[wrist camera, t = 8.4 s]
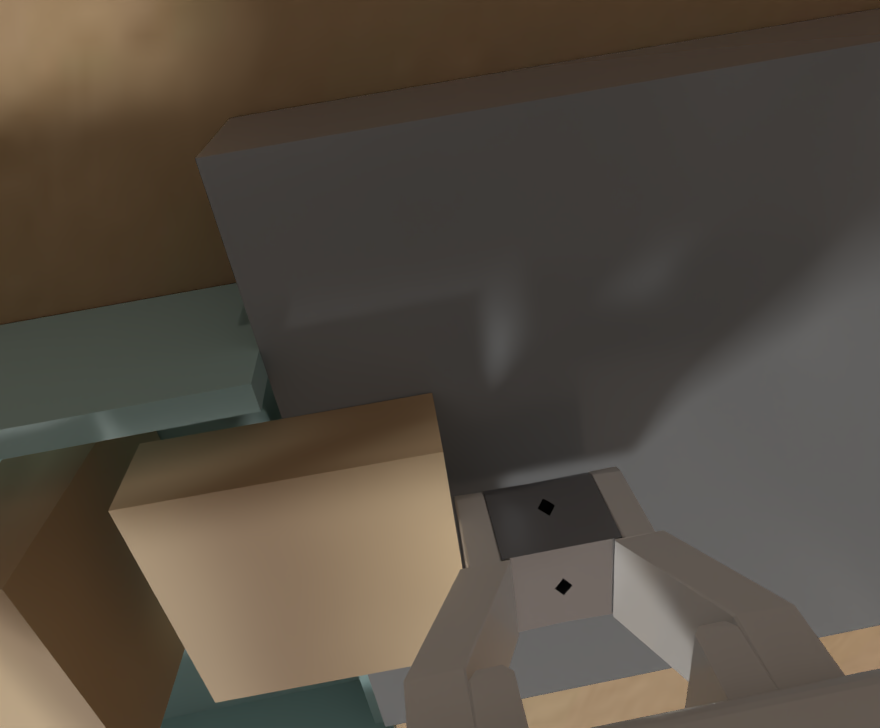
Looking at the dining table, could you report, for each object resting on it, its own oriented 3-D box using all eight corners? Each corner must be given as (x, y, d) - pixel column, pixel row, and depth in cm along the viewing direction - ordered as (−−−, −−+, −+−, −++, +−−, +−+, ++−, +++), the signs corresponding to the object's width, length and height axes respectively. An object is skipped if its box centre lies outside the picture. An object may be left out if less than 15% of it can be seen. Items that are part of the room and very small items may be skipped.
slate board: (1201, -46, 12) (1441, -55, 9) (972, 505, 19) (1070, 585, 16) (229, 118, 11) (194, 158, 8) (379, 623, 18) (385, 727, 16)
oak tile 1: (432, 392, 11) (443, 451, 9) (464, 586, 13) (476, 654, 12) (140, 443, 11) (107, 511, 9) (230, 628, 13) (215, 703, 12)
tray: (276, 275, 13) (250, 384, 9) (391, 664, 19) (401, 810, 16) (-345, 386, 12) (-615, 543, 9) (-5, 745, 19) (-81, 911, 16)
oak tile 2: (2, 589, 8) (-117, 606, 8) (144, 779, 11) (53, 791, 11) (134, 382, 13) (54, 394, 13) (214, 554, 15) (148, 564, 15)
